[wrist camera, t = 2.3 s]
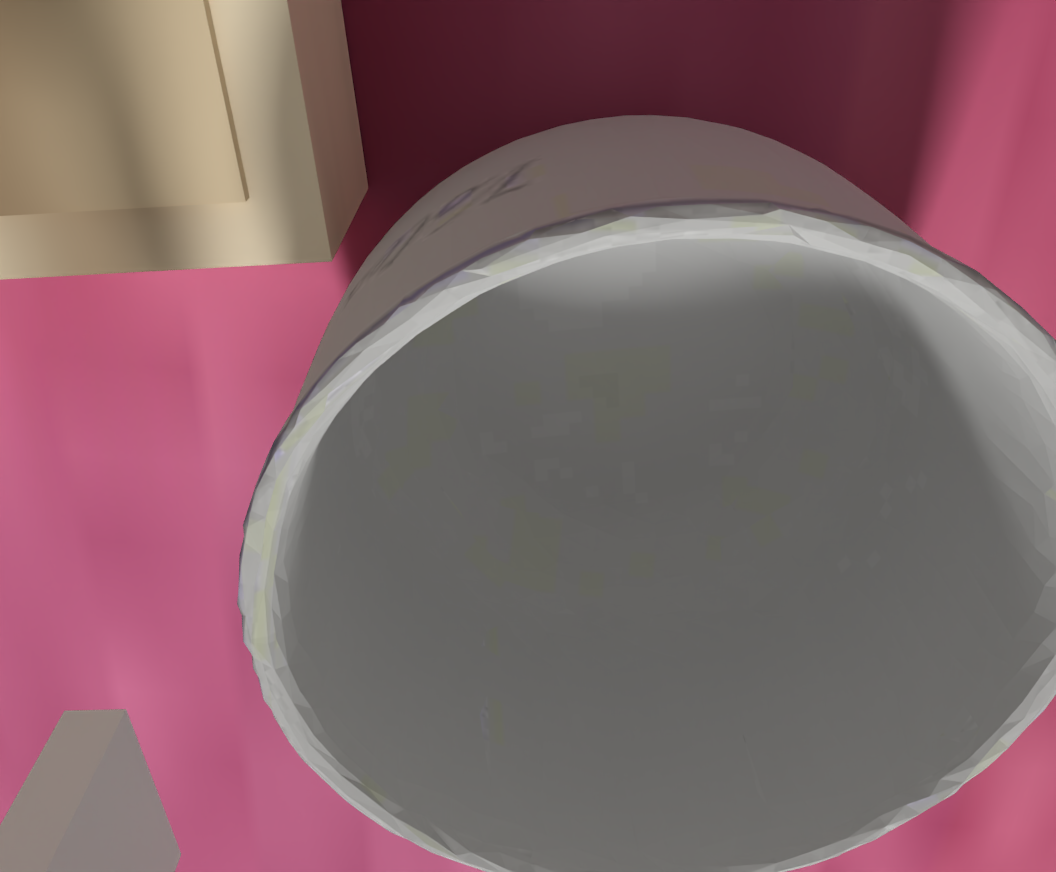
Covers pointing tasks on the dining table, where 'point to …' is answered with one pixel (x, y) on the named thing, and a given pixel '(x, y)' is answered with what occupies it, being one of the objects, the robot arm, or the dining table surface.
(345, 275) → the dining table surface
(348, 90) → the beige tray
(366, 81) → the dining table surface
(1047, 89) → the dining table surface
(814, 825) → the teacup
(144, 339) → the dining table surface
